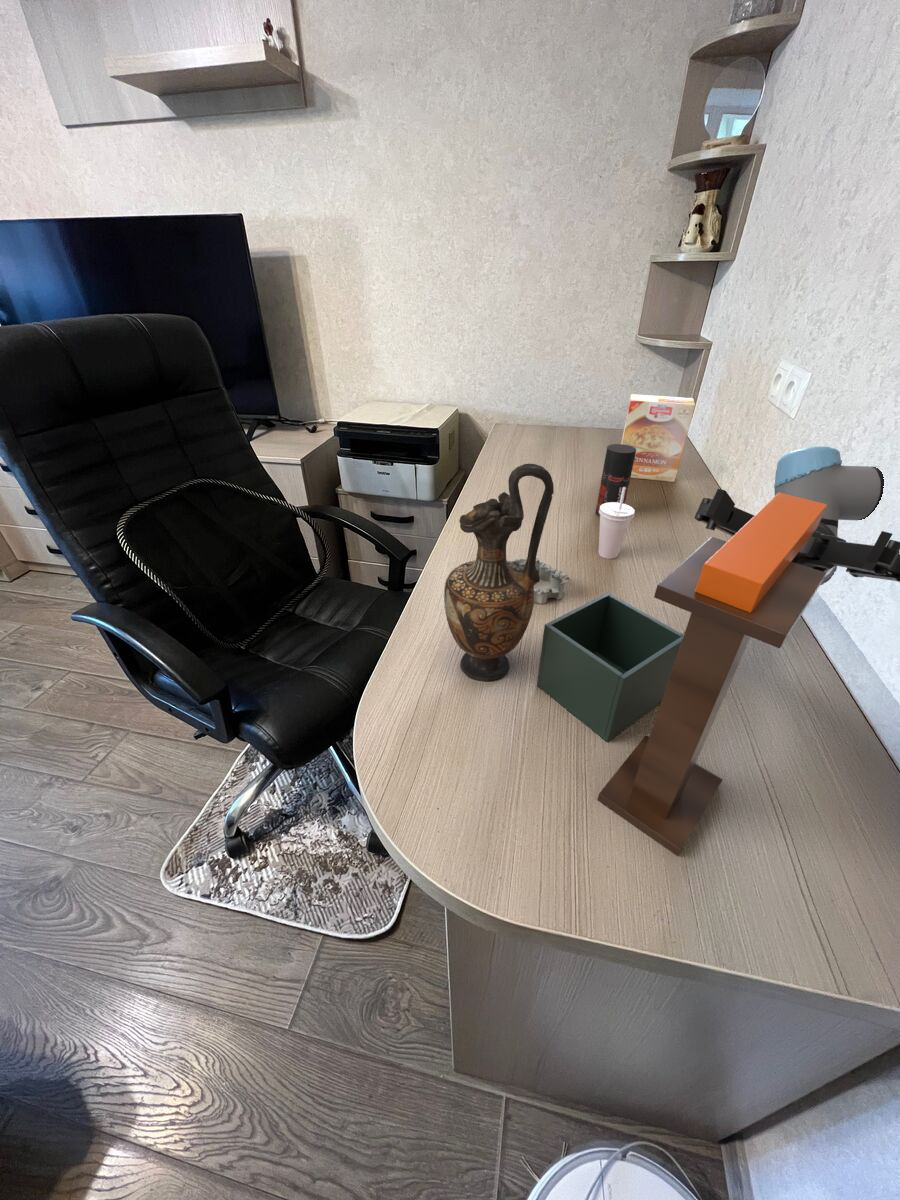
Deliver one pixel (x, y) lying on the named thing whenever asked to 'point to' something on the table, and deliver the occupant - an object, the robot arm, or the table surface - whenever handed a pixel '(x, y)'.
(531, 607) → the vase
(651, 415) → the coffeecake box
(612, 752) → the table surface
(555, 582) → the egg carton
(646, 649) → the trash bin
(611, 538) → the smoothie
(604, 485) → the deodorant
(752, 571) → the block
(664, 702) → the stand
